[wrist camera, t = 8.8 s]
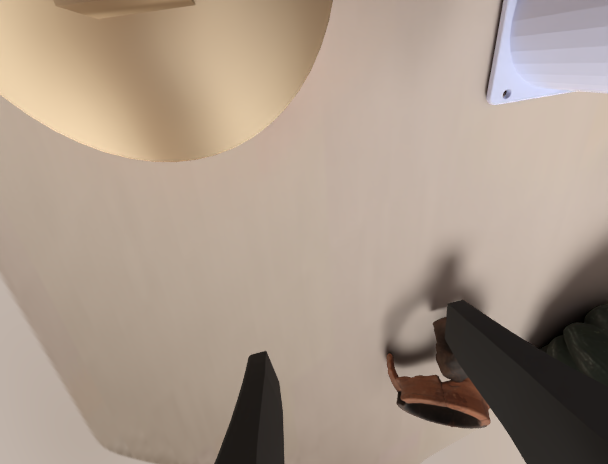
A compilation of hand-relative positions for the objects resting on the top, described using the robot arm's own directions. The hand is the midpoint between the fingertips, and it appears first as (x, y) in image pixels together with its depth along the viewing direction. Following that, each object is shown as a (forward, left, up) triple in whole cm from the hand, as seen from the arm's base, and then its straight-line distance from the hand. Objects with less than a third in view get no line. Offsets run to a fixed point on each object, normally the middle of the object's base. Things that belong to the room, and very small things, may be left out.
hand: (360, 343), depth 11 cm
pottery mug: (-10, +15, -10) cm, 21 cm away
